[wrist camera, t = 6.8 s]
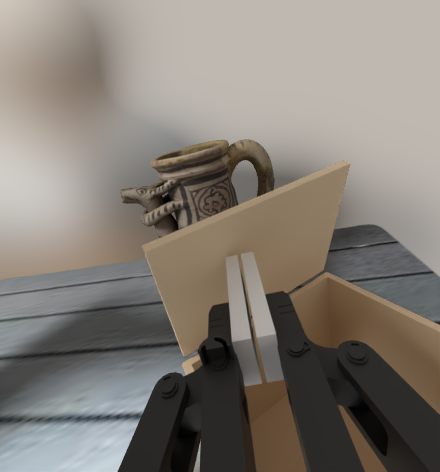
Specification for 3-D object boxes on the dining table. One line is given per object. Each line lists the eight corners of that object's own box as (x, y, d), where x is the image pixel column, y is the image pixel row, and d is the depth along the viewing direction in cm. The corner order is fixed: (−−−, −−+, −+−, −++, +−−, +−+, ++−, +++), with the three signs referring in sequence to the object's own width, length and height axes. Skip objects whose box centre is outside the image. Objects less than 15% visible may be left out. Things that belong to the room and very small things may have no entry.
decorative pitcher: (268, 254, 53) (247, 128, 43) (315, 307, 37) (299, 127, 27) (168, 286, 51) (120, 162, 41) (172, 357, 35) (94, 183, 25)
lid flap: (145, 252, 12) (141, 245, 13) (184, 357, 19) (181, 350, 20) (350, 163, 18) (343, 160, 18) (323, 270, 25) (318, 266, 25)
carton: (348, 715, 13) (343, 682, 8) (217, 446, 24) (181, 363, 19) (493, 481, 19) (545, 374, 13) (331, 354, 30) (326, 271, 25)
